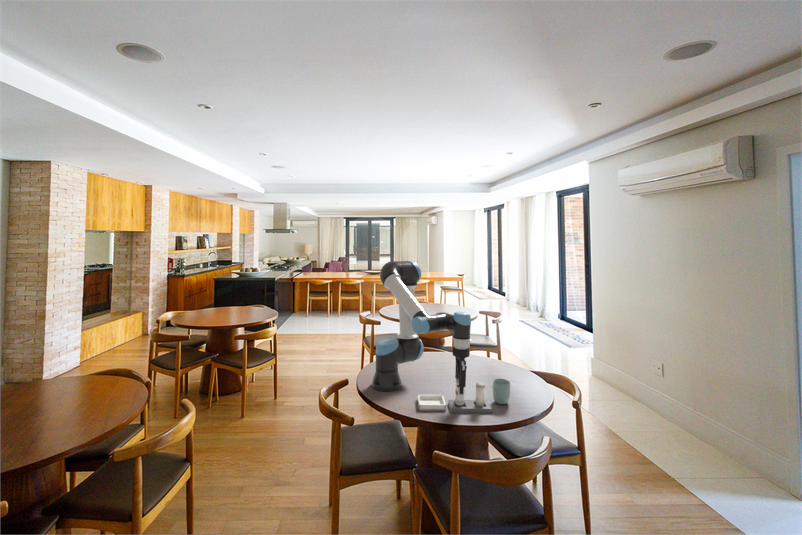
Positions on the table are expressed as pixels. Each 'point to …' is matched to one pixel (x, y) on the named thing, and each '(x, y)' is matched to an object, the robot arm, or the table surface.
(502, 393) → the cup
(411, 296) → the robot arm
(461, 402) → the cylinder
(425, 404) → the tray
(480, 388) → the cylinder
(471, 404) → the holder
